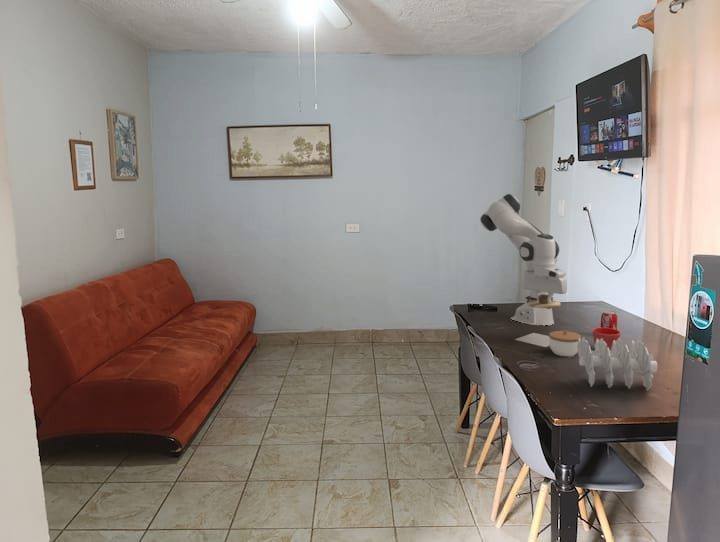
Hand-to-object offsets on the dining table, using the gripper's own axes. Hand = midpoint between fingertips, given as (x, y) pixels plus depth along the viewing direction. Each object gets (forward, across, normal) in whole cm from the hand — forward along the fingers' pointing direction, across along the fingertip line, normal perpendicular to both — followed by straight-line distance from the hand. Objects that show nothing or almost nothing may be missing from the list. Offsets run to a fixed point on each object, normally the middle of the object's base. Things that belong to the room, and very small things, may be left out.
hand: (544, 301), depth 230 cm
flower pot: (+21, +24, +10) cm, 33 cm away
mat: (+20, -4, +3) cm, 21 cm away
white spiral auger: (+21, +45, -23) cm, 55 cm away
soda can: (+21, +13, +34) cm, 42 cm away
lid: (+2, 0, 0) cm, 2 cm away
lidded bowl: (+21, +14, -6) cm, 26 cm away
